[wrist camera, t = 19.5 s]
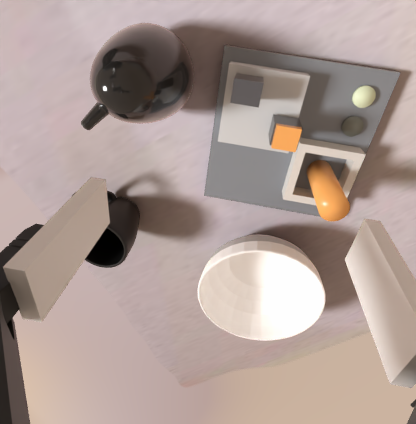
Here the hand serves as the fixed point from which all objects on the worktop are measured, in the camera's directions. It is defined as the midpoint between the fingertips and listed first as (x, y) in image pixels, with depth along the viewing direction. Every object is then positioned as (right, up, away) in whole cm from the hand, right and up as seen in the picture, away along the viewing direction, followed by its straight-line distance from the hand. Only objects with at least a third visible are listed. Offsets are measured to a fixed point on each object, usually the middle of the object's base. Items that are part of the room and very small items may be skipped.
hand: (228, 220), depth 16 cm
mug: (-16, +2, +35) cm, 38 cm away
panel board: (+10, +10, +25) cm, 29 cm away
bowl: (+8, -8, +37) cm, 39 cm away
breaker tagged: (+8, +11, +20) cm, 24 cm away
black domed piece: (-7, +19, +23) cm, 31 cm away
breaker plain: (+3, +15, +19) cm, 24 cm away
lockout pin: (+14, +6, +25) cm, 30 cm away
